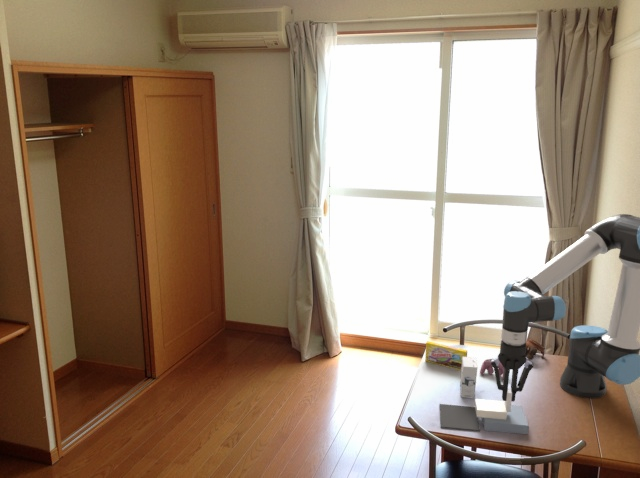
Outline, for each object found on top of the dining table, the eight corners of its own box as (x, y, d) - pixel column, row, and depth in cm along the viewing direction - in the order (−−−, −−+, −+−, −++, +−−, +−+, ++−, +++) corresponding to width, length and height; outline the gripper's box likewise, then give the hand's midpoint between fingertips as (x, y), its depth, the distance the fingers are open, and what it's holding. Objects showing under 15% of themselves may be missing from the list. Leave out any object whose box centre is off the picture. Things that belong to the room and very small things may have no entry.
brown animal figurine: (514, 352, 237) (525, 335, 237) (535, 364, 235) (546, 347, 235) (517, 357, 226) (528, 339, 225) (539, 370, 224) (551, 352, 223)
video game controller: (507, 381, 215) (510, 363, 216) (505, 381, 211) (508, 362, 212) (481, 375, 220) (484, 357, 221) (478, 374, 216) (482, 356, 217)
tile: (503, 408, 188) (503, 401, 187) (506, 419, 181) (506, 412, 180) (474, 405, 189) (475, 398, 189) (476, 416, 182) (477, 409, 182)
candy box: (424, 361, 228) (425, 342, 226) (426, 359, 229) (427, 340, 227) (464, 371, 219) (466, 351, 217) (466, 369, 221) (467, 349, 219)
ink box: (459, 385, 209) (461, 355, 206) (474, 386, 208) (476, 356, 205) (460, 397, 200) (462, 366, 198) (475, 398, 199) (477, 367, 197)
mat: (475, 408, 193) (476, 407, 193) (479, 431, 180) (479, 430, 180) (439, 405, 195) (439, 403, 195) (440, 427, 182) (440, 426, 182)
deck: (521, 413, 190) (522, 405, 189) (527, 434, 178) (528, 425, 178) (480, 410, 192) (481, 402, 191) (484, 430, 181) (485, 421, 180)
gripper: (493, 344, 176) (487, 413, 181) (538, 347, 174) (530, 417, 179) (490, 334, 183) (485, 401, 188) (533, 337, 181) (526, 405, 186)
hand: (507, 409), depth 184 cm, fingers closed
